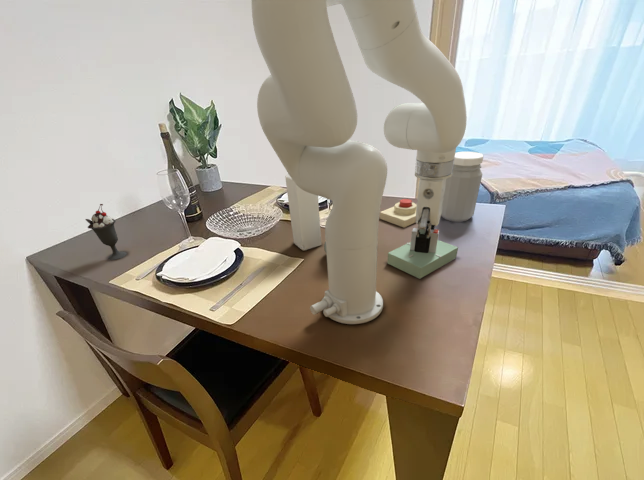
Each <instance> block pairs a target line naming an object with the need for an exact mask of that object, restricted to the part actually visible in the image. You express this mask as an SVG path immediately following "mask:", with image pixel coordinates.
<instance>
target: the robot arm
mask: <svg viewBox="0 0 644 480" xmlns="http://www.w3.org/2000/svg"><path fill="white" fill-rule="evenodd" d="M336 5H342V8H343V9H344V12H345V15H346V17H347V20H348V22H349V24H350V25H349V26H350V27H351V30H352V32H353V35H354V37H355V39H356V42H357V45H358V48H359V50H360V53H361V55H362V59H363V61H364V64H365V65H366V67H367V68H368V69H369V71H370V72H372V73H374V74H375V75H376V76H378V77H380V78H381V79H383V80H385V81H387V82H389V83H391V84H393V85H396V86H398V87H400V88H402V89H404V90H406V91H407V92H409V93H410V94H412V95H414V96H415V97H416V98H417V99H419V100H420V102H404V103H401V104H398V105H396V106H394V107H393V108H392V109H391V110H390V111H389V112H388V113H387V115H386V118H385V120H384V123H383V135H384V137H385V139H386V141H387V142H388V143H389V145H391V146H392V147H395V148H397V149H404V150H411V151H416V158H415V168H414V177H415V178H417V179H419V181H418V189H417V199H416V205H417V207H416V222H415V224H416V225H417V228H418V230H417V235H416V240H415V249H414V251H415V252H421V253H428V252H429V246H430V239H431V236H430V231H431V230H434V229H436V227H438V225H439V224H440V221H441V217H442V216H441V214H442V207H443V200H444V194H445V186H446V179H447V178H449V177H451V176H452V170H453V164H454V158H455V153H456V151H457V148H458V147H459V145H460V144H461V142H462V141H463V139H464V137H465V134H466V129H467V122H468V121H467V119H468V117H467V105H466V99H465V92H464V87H463V82H462V79H461V77H460V74H459V73H458V71H457V69H456V68H455V67H454V65H453V63H452V62H451V61H449V59H448V58H447V57H446V55H445V54H444V53H443V52H442V51H441V50H440V48H438V47H437V45H435V43H434V42H432V41H431V40H430V39H429V38H428V37H427V36H426V35H425V34H424V33H423V32H422V29H421V26H420V22H419V16H418V13H417V8H416V4H415V0H251V17H252V24H253V31H254V36H255V39H256V42H257V45H258V48H259V51H260V53H261V56H262V58H263V60H264V62H265V64H266V66H267V69H268V71H269V73H270V75H268V76H267V77H266V78H265V80H264V81H263V82H262V84H261V86H260V87H259V90H258V94H257V101H256V108H257V117H258V121H259V124H260V127H261V130H262V131H263V134H264V136H265V137H266V139H267V141H268V142H269V144H270V146H271V147H272V149H273V151H274V152H275V154H276V156H277V157H278V159H279V161H280V162H281V163H282V166H283V167H284V169H285V171H286V172H287V174H289V175H290V177H291V178H292V180H293V181H294V182H295V184H296V185H297V186H298V187H299V188H301V189H302V190H304V191H306V192H308V193H311V194H314V195H318V197H321V198H325V199H327V200H329V201H331V203H332V207H331V210H330V212H329V214H328V216H327V218H326V221H325V225H324V226H325V227H324V237H325V241H326V252H325V254H326V253H327V254H326V265H327V268H326V269H327V282H328V283H327V284H328V289H326V290H325V291H324V295H323V298H322V299H321V301H318V302H316V303H313V304H312V305H310V306H309V310H310V312H311V314H312V315H313V316H315V315H318V314H319V313H321V312H322V313H323V315H324V317H326V318H329V319H331V320H333V321H334V322H338V323H341V324H345V325H346V324H347V325H359V324H365V323H368V322H370V321H373V320H375V319H376V318H377V317H378V316H379V315H380V314H381V313H382V311H383V308H384V299H383V297H382V295H381V294H380V293H379V292H378V291H377V276H378V275H377V272H378V251H379V248H378V247H379V244H378V243H379V227H380V226H379V224H380V212H381V206H382V200H383V195H384V193H385V188H386V184H387V178H388V164H387V160H386V158H385V156H384V154H383V153H382V152H381V150H379V148H376V147H375V146H373V145H372V144H369V143H368V142H367V143H366V142H363V141H359V140H350V139H351V138H352V137H353V135H354V134H355V132H356V130H357V125H358V110H357V105H356V101H355V97H354V93H353V91H352V87H351V85H350V82H349V79H348V75H347V72H346V70H345V66H344V64H343V61H342V58H341V55H340V53H339V49H338V46H337V43H336V40H335V37H334V33H333V30H332V27H331V23H330V20H329V13H328V7H332V6H336ZM427 229H428V231H427Z"/></svg>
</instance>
